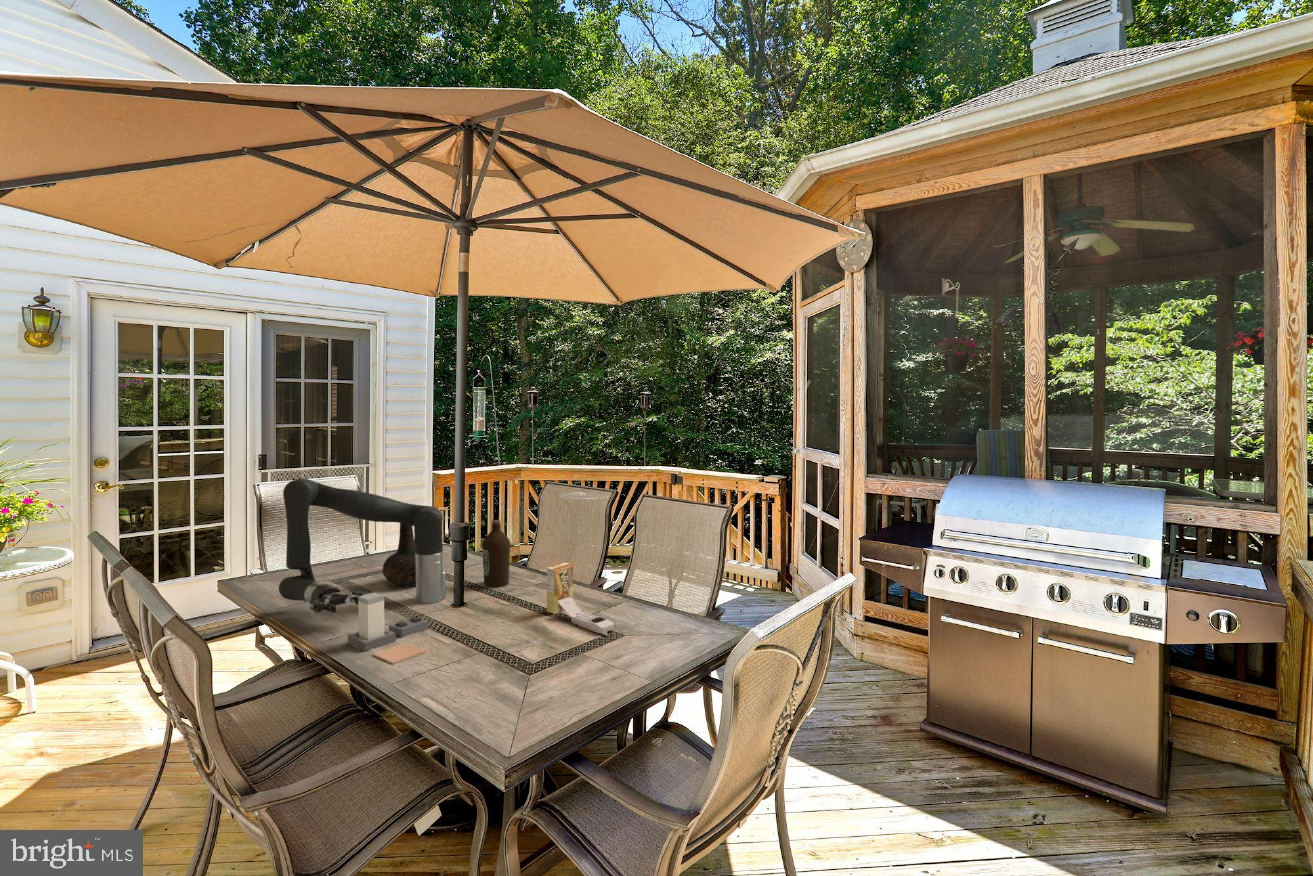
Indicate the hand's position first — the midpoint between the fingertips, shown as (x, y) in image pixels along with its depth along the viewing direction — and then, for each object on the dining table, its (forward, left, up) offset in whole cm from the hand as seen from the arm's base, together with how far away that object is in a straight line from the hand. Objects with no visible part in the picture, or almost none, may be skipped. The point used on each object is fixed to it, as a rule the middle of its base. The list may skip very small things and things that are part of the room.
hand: (349, 605), depth 189 cm
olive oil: (-61, -5, -9) cm, 62 cm away
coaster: (0, +26, -9) cm, 28 cm away
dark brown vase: (-41, -33, -9) cm, 53 cm away
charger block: (0, +12, -9) cm, 15 cm away
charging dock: (-6, +12, -9) cm, 16 cm away
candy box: (-54, +36, -9) cm, 66 cm away
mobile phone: (-49, +53, -9) cm, 73 cm away
